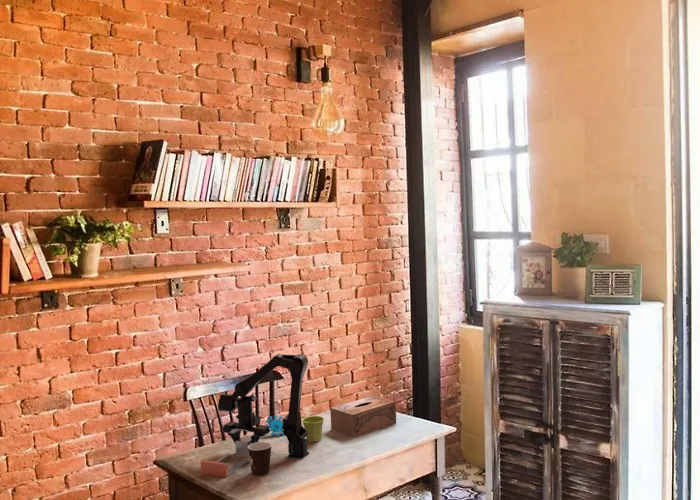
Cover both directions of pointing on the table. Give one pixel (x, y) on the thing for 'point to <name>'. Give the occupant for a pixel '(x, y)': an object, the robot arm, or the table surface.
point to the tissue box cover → (363, 416)
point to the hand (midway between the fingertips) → (246, 450)
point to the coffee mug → (260, 458)
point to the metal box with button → (243, 446)
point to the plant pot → (313, 427)
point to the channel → (221, 466)
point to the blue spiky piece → (275, 425)
